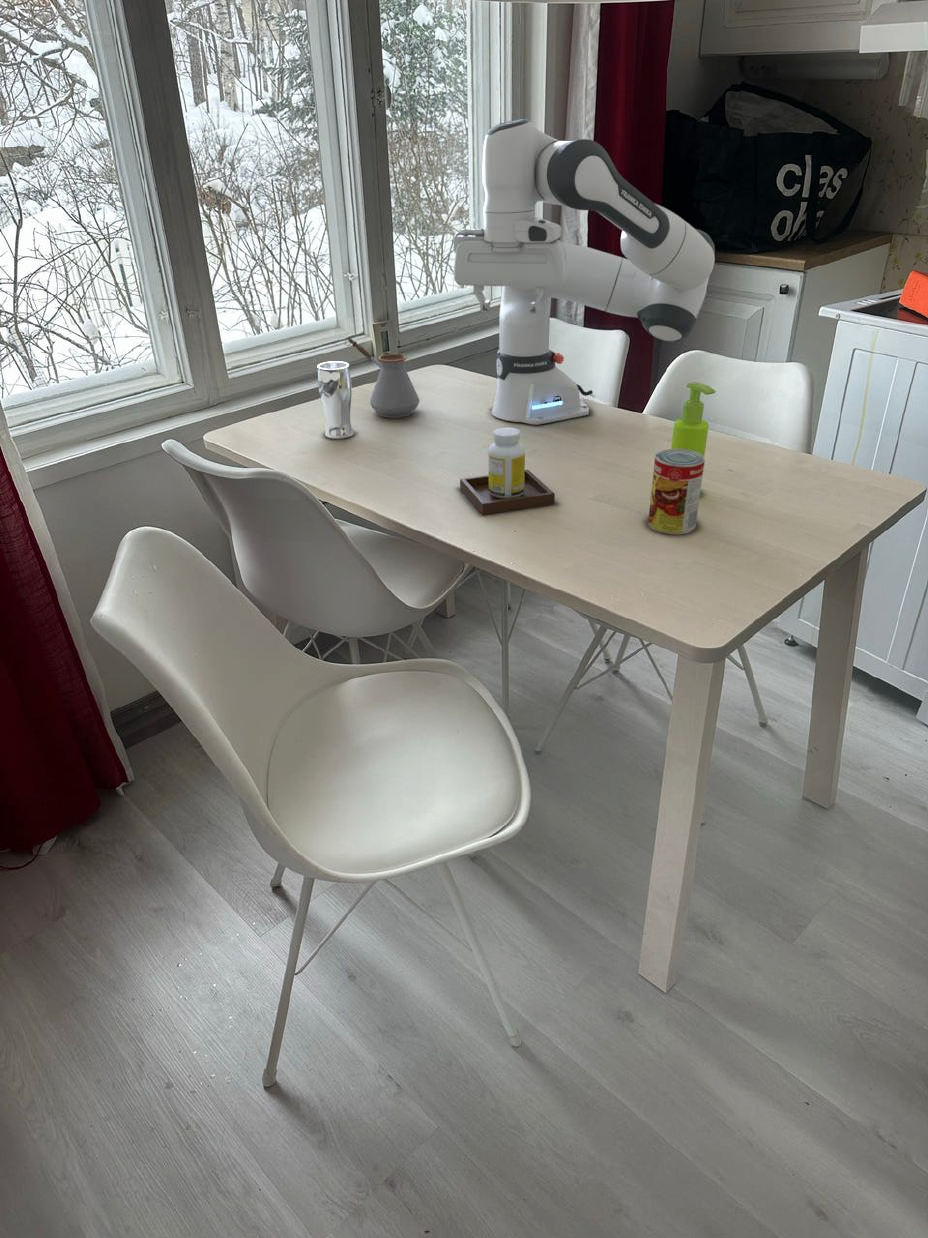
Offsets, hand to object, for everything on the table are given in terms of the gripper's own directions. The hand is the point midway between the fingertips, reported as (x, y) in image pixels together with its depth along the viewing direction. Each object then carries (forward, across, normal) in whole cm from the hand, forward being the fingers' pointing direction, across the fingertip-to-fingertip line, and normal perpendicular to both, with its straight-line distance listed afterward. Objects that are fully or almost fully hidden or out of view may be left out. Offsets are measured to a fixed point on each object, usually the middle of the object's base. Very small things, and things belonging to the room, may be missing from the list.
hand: (510, 312), depth 155 cm
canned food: (+30, +34, -19) cm, 49 cm away
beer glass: (+28, -41, +7) cm, 51 cm away
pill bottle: (+29, +4, -16) cm, 33 cm away
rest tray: (+29, +4, -16) cm, 33 cm away
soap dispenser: (+30, +34, -5) cm, 46 cm away
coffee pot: (+28, -40, +27) cm, 56 cm away
